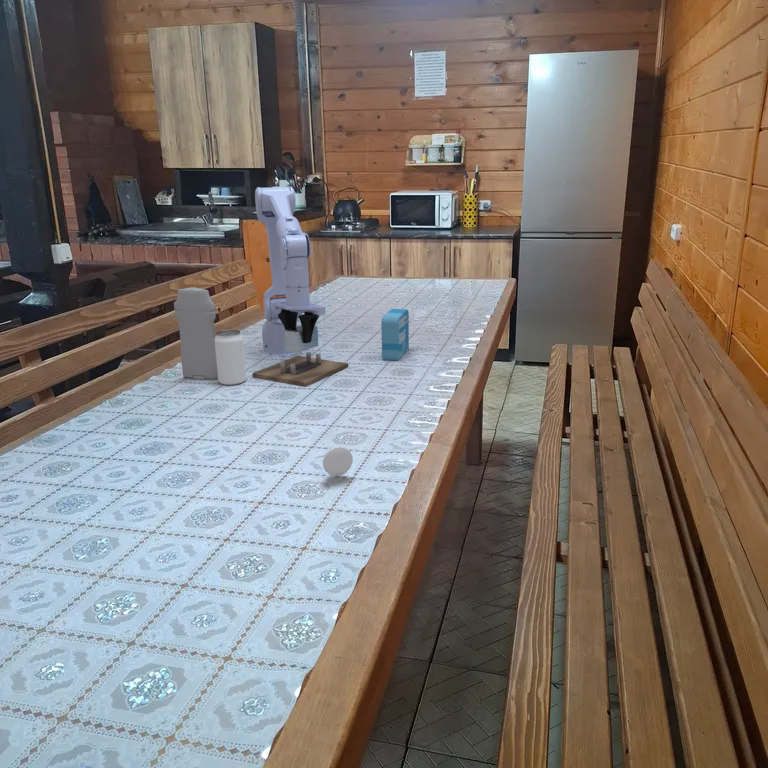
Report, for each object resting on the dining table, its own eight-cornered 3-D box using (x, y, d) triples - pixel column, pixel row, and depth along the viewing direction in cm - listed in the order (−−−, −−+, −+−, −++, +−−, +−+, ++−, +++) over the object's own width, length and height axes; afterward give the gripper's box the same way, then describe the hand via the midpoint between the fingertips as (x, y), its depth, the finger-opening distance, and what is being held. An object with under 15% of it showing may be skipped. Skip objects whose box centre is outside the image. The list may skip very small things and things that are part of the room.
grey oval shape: (325, 479, 109) (323, 451, 108) (319, 472, 112) (318, 444, 110) (353, 474, 111) (353, 446, 109) (347, 467, 114) (346, 439, 112)
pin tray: (252, 377, 163) (251, 363, 162) (297, 359, 178) (297, 346, 177) (305, 386, 156) (305, 372, 155) (348, 367, 170) (348, 353, 169)
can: (251, 378, 162) (247, 330, 158) (237, 386, 156) (232, 336, 153) (227, 376, 164) (223, 328, 160) (213, 384, 158) (208, 334, 155)
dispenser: (177, 378, 163) (167, 288, 156) (185, 373, 167) (176, 285, 160) (218, 381, 161) (209, 289, 154) (225, 376, 165) (217, 286, 158)
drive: (285, 350, 163) (284, 330, 162) (305, 343, 170) (304, 324, 168) (298, 352, 161) (297, 331, 160) (318, 345, 168) (317, 325, 166)
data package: (398, 363, 174) (398, 317, 170) (381, 362, 175) (381, 316, 171) (408, 351, 185) (408, 308, 181) (392, 350, 186) (392, 307, 182)
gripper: (262, 286, 161) (266, 341, 165) (311, 291, 154) (314, 348, 158) (281, 282, 166) (284, 335, 170) (329, 286, 159) (331, 341, 163)
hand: (299, 341), depth 164 cm, fingers closed on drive, 4 cm apart
